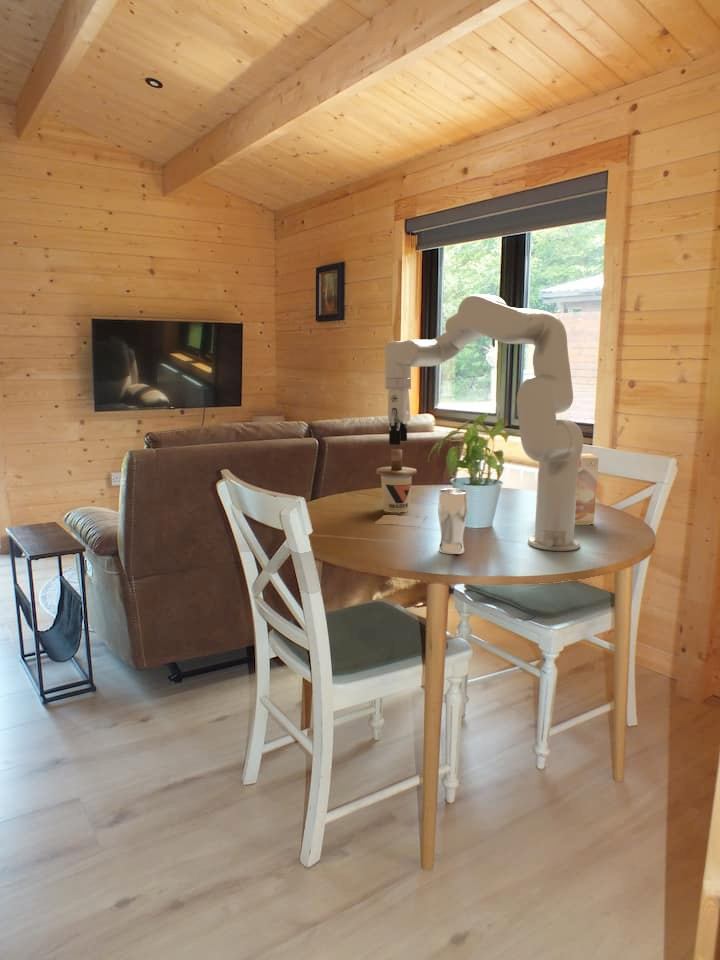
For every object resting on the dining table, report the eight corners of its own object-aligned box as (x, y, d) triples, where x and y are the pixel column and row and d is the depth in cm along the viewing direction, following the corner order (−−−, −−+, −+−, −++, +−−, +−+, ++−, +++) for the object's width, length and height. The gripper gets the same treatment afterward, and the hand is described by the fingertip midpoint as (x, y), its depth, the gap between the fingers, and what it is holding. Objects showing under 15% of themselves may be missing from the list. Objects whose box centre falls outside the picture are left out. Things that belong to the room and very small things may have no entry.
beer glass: (470, 554, 170) (472, 493, 167) (443, 556, 168) (445, 494, 165) (458, 546, 177) (460, 487, 174) (432, 548, 175) (434, 489, 172)
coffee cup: (385, 516, 209) (385, 476, 206) (376, 509, 217) (377, 471, 215) (415, 514, 211) (416, 475, 209) (406, 508, 220) (406, 470, 217)
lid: (412, 477, 205) (412, 453, 203) (371, 475, 208) (372, 451, 207) (420, 470, 216) (420, 448, 215) (381, 468, 219) (382, 446, 218)
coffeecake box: (541, 525, 199) (545, 456, 195) (535, 519, 206) (538, 452, 202) (594, 525, 199) (599, 456, 196) (586, 519, 206) (590, 453, 203)
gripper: (404, 385, 198) (405, 446, 201) (416, 383, 214) (416, 439, 217) (378, 385, 200) (379, 445, 203) (391, 383, 216) (392, 439, 219)
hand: (398, 442), depth 210 cm, fingers open, 9 cm apart
